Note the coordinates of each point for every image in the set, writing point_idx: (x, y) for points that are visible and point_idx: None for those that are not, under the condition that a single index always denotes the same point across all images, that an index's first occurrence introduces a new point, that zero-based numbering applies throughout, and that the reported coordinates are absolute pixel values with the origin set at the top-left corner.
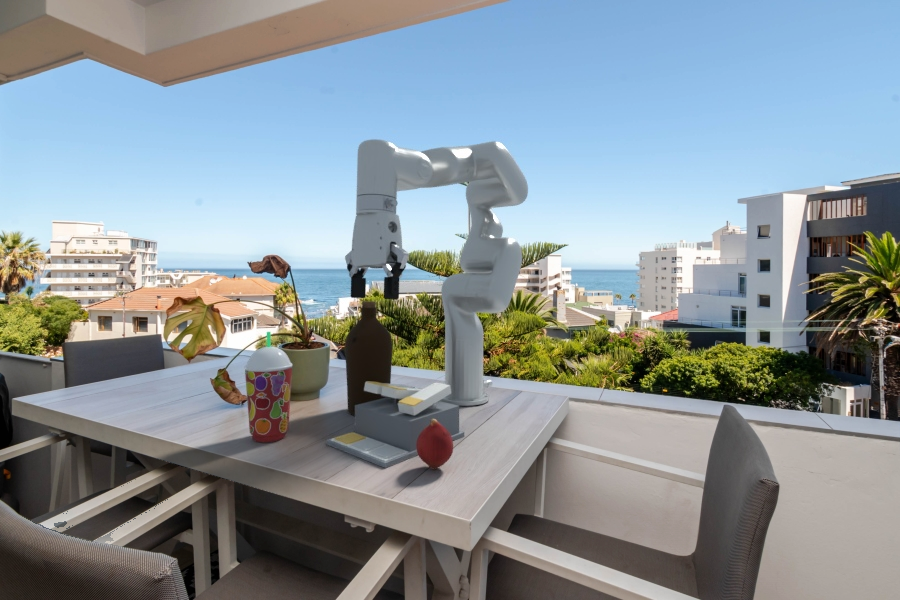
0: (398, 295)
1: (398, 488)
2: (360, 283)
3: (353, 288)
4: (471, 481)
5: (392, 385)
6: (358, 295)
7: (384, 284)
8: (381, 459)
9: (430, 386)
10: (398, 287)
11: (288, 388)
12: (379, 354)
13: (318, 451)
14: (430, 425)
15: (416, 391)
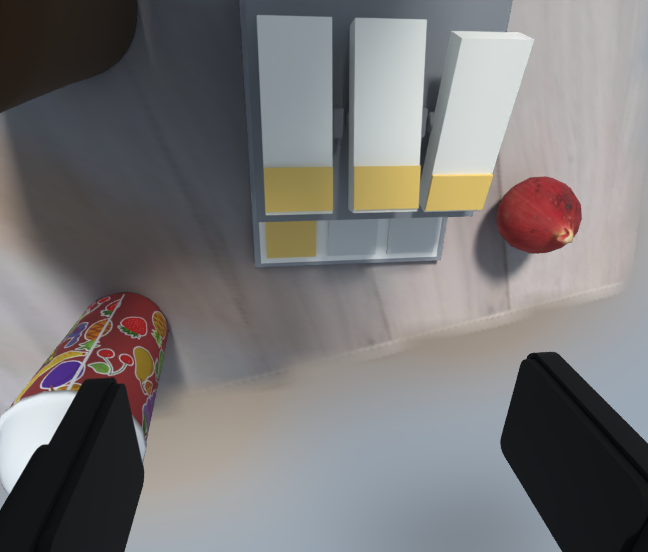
0: (567, 368)
1: (500, 286)
2: (89, 544)
3: (122, 545)
4: (591, 195)
5: (317, 132)
6: (132, 450)
7: (566, 542)
8: (425, 256)
9: (462, 79)
10: (612, 416)
11: (139, 370)
12: (66, 8)
13: (278, 291)
14: (555, 241)
15: (420, 117)
